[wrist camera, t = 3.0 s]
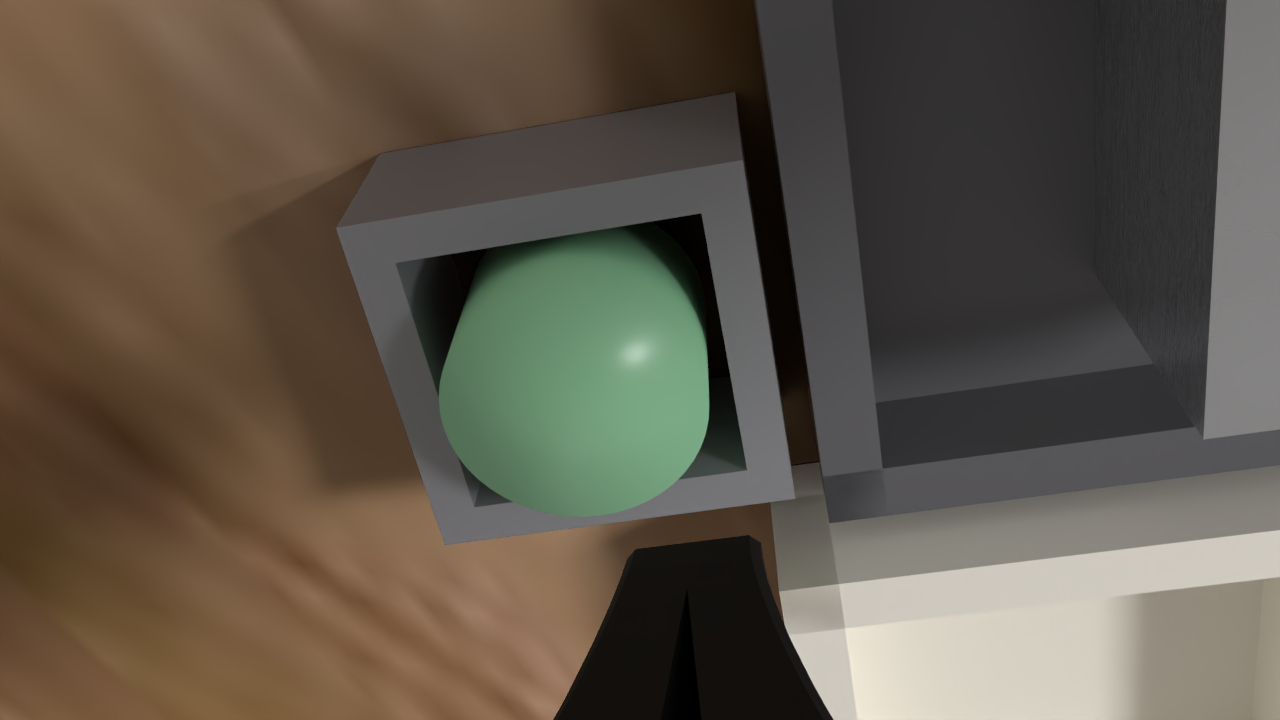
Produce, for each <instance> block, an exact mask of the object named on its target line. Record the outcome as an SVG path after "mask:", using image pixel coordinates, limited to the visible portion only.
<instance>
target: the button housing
mask: <svg viewBox="0 0 1280 720" xmlns="http://www.w3.org/2000/svg"><path fill="white" fill-rule="evenodd" d="M694 214H702V219H703V225H704V231H705V236H706V242H707V248H708V253H709V259H710V264H711V270H712V276H713V281H714V287H715V292H716V298H717V304H718V309H719V315H720V321H721V326H722V332H723V337H724V343H725V349H726V354H727V360H728V365H729V371H730V376H727V377H720V378H713V379H708V383H709V420H708V425H707V430H706V435H705V437H704V440H703V443H702V446H701V448H700V450H699V452H698V454H697V455H696V457H695V459H694V461H693V462H692V464H691V465H690V466H689V468H688V469H687V470H686V472H685V473H684V474H683V475H682V476H681V477H680V478H679V479H678V480H677V481H676V482H675V483H674V484H673V485H671V486H670V487H669V488H668V489H666V490H665V491H664V492H662V493H661V494H659V495H658V496H656V497H654V498H652V499H651V500H649V501H647V502H645V503H643V504H640V505H638V506H636V507H633V508H630V509H627V510H624V511H620V512H617V513H612V514H606V515H601V516H588V517H574V516H562V515H554V514H549V513H544V512H540V511H536V510H533V509H530V508H527V507H524V506H521V505H519V504H517V503H515V502H512V501H510V500H508V499H506V498H504V497H503V496H501V495H499V494H498V493H496V492H494V491H493V490H491V489H490V488H489V487H487V486H486V485H485V484H483V483H482V482H481V481H480V480H478V479H477V478H476V477H475V476H474V475H473V474H472V473H471V472H470V471H469V470H468V469H467V468H466V466H465V465H464V464H463V462H462V461H461V460H460V459H459V457H458V456H457V454H456V453H455V451H454V449H453V448H452V446H451V444H450V442H449V440H448V438H447V435H446V433H445V430H444V428H443V423H442V419H441V415H440V408H439V386H440V380H441V376H442V371H443V367H444V364H445V361H446V358H447V355H448V352H449V349H450V346H451V343H452V340H453V337H454V334H455V331H456V328H457V325H458V322H459V319H460V316H461V313H462V310H463V307H464V304H465V297H464V294H463V291H462V287H461V284H460V280H459V277H458V274H457V270H456V267H455V263H454V260H453V257H452V254H454V253H460V252H466V251H472V250H479V249H485V248H491V247H497V246H503V245H509V244H516V243H522V242H528V241H534V240H540V239H546V238H553V237H559V236H565V235H571V234H577V233H583V232H590V231H596V230H602V229H608V228H614V227H620V226H627V225H633V224H639V223H645V222H651V221H657V220H664V219H670V218H676V217H682V216H688V215H694ZM336 230H337V233H338V236H339V239H340V242H341V245H342V248H343V251H344V254H345V257H346V259H347V262H348V265H349V268H350V271H351V274H352V277H353V280H354V283H355V286H356V288H357V291H358V294H359V297H360V300H361V303H362V306H363V309H364V312H365V315H366V317H367V320H368V323H369V326H370V329H371V332H372V335H373V338H374V341H375V344H376V346H377V349H378V352H379V355H380V358H381V361H382V364H383V367H384V370H385V373H386V375H387V378H388V381H389V384H390V387H391V390H392V393H393V396H394V399H395V402H396V404H397V407H398V410H399V413H400V416H401V419H402V422H403V425H404V428H405V431H406V433H407V436H408V439H409V442H410V445H411V448H412V451H413V454H414V457H415V460H416V462H417V465H418V468H419V471H420V474H421V477H422V480H423V483H424V486H425V489H426V491H427V494H428V497H429V500H430V503H431V506H432V509H433V512H434V515H435V518H436V520H437V523H438V526H439V529H440V532H441V535H442V538H443V541H444V544H445V545H449V544H457V543H464V542H472V541H479V540H487V539H494V538H502V537H510V536H517V535H525V534H532V533H540V532H548V531H555V530H563V529H570V528H578V527H585V526H593V525H601V524H608V523H616V522H623V521H631V520H638V519H646V518H654V517H661V516H669V515H676V514H684V513H691V512H699V511H707V510H714V509H722V508H729V507H737V506H745V505H752V504H760V503H767V502H775V501H782V500H790V499H795V492H794V484H793V477H792V469H791V461H790V454H789V446H788V439H787V431H786V423H785V416H784V408H783V401H782V394H781V388H780V381H779V375H778V368H777V362H776V355H775V349H774V342H773V336H772V329H771V323H770V316H769V310H768V303H767V297H766V291H765V284H764V278H763V271H762V265H761V258H760V252H759V245H758V239H757V232H756V226H755V219H754V213H753V206H752V200H751V193H750V187H749V180H748V174H747V168H746V161H745V155H744V148H743V142H742V135H741V129H740V122H739V116H738V109H737V103H736V96H735V92H732V93H726V94H720V95H715V96H709V97H703V98H697V99H692V100H686V101H680V102H674V103H669V104H663V105H657V106H651V107H646V108H640V109H634V110H628V111H623V112H617V113H611V114H605V115H600V116H594V117H588V118H582V119H577V120H571V121H565V122H559V123H554V124H548V125H542V126H536V127H531V128H525V129H519V130H513V131H508V132H502V133H496V134H490V135H485V136H479V137H473V138H467V139H462V140H456V141H450V142H444V143H438V144H433V145H427V146H421V147H415V148H410V149H404V150H398V151H392V152H387V153H381V154H379V156H378V158H377V159H376V161H375V163H374V164H373V166H372V168H371V169H370V171H369V173H368V174H367V176H366V178H365V179H364V181H363V183H362V185H361V186H360V188H359V190H358V191H357V193H356V195H355V196H354V198H353V200H352V201H351V203H350V205H349V206H348V208H347V210H346V211H345V213H344V215H343V216H342V218H341V220H340V221H339V223H338V225H337V226H336Z"/></svg>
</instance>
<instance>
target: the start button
mask: <svg viewBox="0 0 1280 720" xmlns="http://www.w3.org/2000/svg"><path fill="white" fill-rule="evenodd" d="M439 408H440V415H441V419H442V423H443V428H444V430H445V433H446V435H447V438H448V440H449V442H450V444H451V446H452V448H453V449H454V451H455V453H456V454H457V456H458V457H459V459H460V460H461V461H462V462H463V464H464V465H465V466H466V468H467V469H468V470H469V471H470V472H471V473H472V474H473V475H474V476H475V477H476V478H477V479H478V480H480V481H481V482H482V483H483V484H485V485H486V486H487V487H489V488H490V489H491V490H493V491H494V492H496V493H498V494H499V495H501V496H503V497H504V498H506V499H508V500H510V501H512V502H515V503H517V504H519V505H521V506H524V507H527V508H530V509H533V510H536V511H540V512H544V513H549V514H554V515H562V516H574V517H588V516H601V515H606V514H612V513H617V512H620V511H624V510H627V509H630V508H633V507H636V506H638V505H640V504H643V503H645V502H647V501H649V500H651V499H652V498H654V497H656V496H658V495H659V494H661V493H662V492H664V491H665V490H666V489H668V488H669V487H670V486H671V485H673V484H674V483H675V482H676V481H677V480H678V479H679V478H680V477H681V476H682V475H683V474H684V473H685V472H686V470H687V469H688V468H689V466H690V465H691V464H692V462H693V461H694V459H695V457H696V455H697V454H698V452H699V450H700V448H701V446H702V443H703V440H704V437H705V435H706V430H707V425H708V420H709V383H708V354H707V325H706V304H705V295H704V291H703V287H702V283H701V280H700V278H699V276H698V273H697V271H696V268H695V267H694V265H693V263H692V262H691V260H690V258H689V257H688V255H687V254H686V253H685V251H684V250H683V249H682V248H681V246H680V245H679V244H678V243H677V242H676V241H675V240H674V239H673V238H672V237H671V236H670V235H669V234H668V233H666V232H665V231H664V230H662V229H661V228H660V227H658V226H657V225H655V224H654V223H652V222H645V223H639V224H633V225H627V226H620V227H614V228H608V229H602V230H596V231H590V232H583V233H577V234H571V235H565V236H559V237H553V238H546V239H540V240H534V241H528V242H522V243H516V244H509V245H503V246H497V247H491V248H488V249H487V251H486V252H485V254H484V255H483V257H482V259H481V261H480V262H479V264H478V267H477V269H476V272H475V274H474V277H473V280H472V283H471V286H470V289H469V292H468V295H467V298H466V301H465V304H464V307H463V310H462V313H461V316H460V319H459V322H458V325H457V328H456V331H455V334H454V337H453V340H452V343H451V346H450V349H449V352H448V355H447V358H446V361H445V364H444V367H443V371H442V376H441V380H440V386H439Z"/></svg>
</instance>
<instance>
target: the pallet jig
mask: <svg viewBox="0 0 1280 720" xmlns="http://www.w3.org/2000/svg"><path fill="white" fill-rule="evenodd" d="M791 469H792V477H793V484H794V492H795V499H790V500H782V501H775V502H770V507H771V517H772V526H773V536H774V546H775V556H776V566H777V576H778V586H779V594H780V600H781V606H782V611H783V617H784V623H785V628H786V630H787V632H788V634H789V637H790V639H791V641H792V643H793V645H794V647H795V649H796V651H797V653H798V655H799V657H800V659H801V661H802V663H803V665H804V667H805V669H806V671H807V673H808V675H809V677H810V679H811V681H812V683H813V685H814V686H815V688H816V690H817V692H818V694H819V695H820V697H821V699H822V701H823V703H824V704H825V706H826V708H827V709H828V711H829V713H830V714H831V716H832V718H833V719H834V720H1280V465H1277V466H1270V467H1262V468H1254V469H1246V470H1239V471H1231V472H1223V473H1215V474H1208V475H1200V476H1192V477H1184V478H1177V479H1169V480H1161V481H1153V482H1146V483H1138V484H1130V485H1122V486H1115V487H1107V488H1099V489H1091V490H1084V491H1076V492H1068V493H1060V494H1053V495H1045V496H1037V497H1029V498H1022V499H1014V500H1006V501H999V502H991V503H983V504H975V505H968V506H960V507H952V508H944V509H937V510H929V511H921V512H913V513H906V514H898V515H890V516H882V517H875V518H867V519H859V520H851V521H844V522H836V523H829V519H828V513H827V507H826V501H825V495H824V489H823V483H822V477H821V471H820V465H819V462H817V463H810V464H802V465H795V466H791Z"/></svg>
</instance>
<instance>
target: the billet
mask: <svg viewBox="0 0 1280 720" xmlns="http://www.w3.org/2000/svg"><path fill="white" fill-rule="evenodd" d="M1093 10H1094V273H1095V275H1096V276H1097V278H1098V279H1099V281H1100V282H1101V284H1102V285H1103V287H1104V288H1105V290H1106V292H1107V293H1108V295H1109V296H1110V298H1111V299H1112V301H1113V302H1114V304H1115V305H1116V307H1117V308H1118V310H1119V311H1120V313H1121V314H1122V316H1123V318H1124V319H1125V321H1126V322H1127V324H1128V325H1129V327H1130V328H1131V330H1132V331H1133V333H1134V334H1135V336H1136V337H1137V339H1138V340H1139V342H1140V344H1141V345H1142V347H1143V348H1144V350H1145V351H1146V353H1147V354H1148V356H1149V357H1150V359H1151V360H1152V362H1153V363H1154V365H1155V366H1156V368H1157V369H1158V371H1159V373H1160V374H1161V376H1162V377H1163V379H1164V380H1165V382H1166V383H1167V385H1168V386H1169V388H1170V389H1171V391H1172V392H1173V394H1174V395H1175V397H1176V399H1177V400H1178V402H1179V403H1180V405H1181V406H1182V408H1183V409H1184V411H1185V412H1186V414H1187V415H1188V417H1189V418H1190V420H1191V421H1192V423H1193V425H1194V426H1195V428H1196V429H1197V431H1198V432H1199V434H1200V435H1201V437H1202V438H1203V440H1204V439H1211V438H1219V437H1226V436H1234V435H1242V434H1249V433H1257V432H1264V431H1272V430H1279V429H1280V0H1093Z"/></svg>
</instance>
